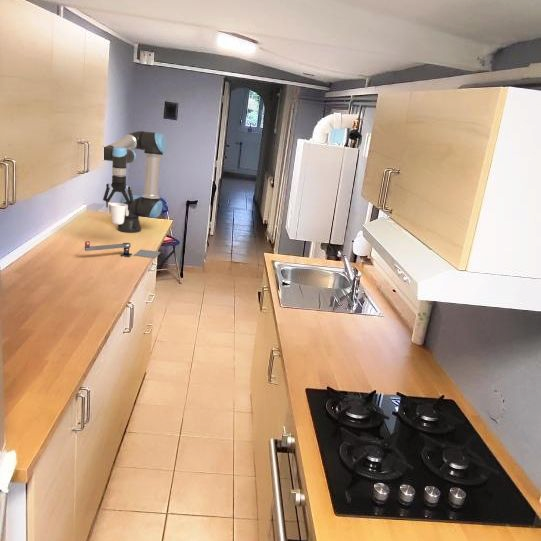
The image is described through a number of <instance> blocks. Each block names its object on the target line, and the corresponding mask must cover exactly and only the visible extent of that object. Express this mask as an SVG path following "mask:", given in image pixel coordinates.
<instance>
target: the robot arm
mask: <svg viewBox="0 0 541 541" xmlns="http://www.w3.org/2000/svg"><path fill="white" fill-rule="evenodd" d="M167 143H168V142H167V138H166V136H165V135H164V134H163V133H160V132H153V131H152V132H151V131H146V130H145V131H143V130H137V131H132V132H130V133H127V134H125V135H123V137H122V138H121V139H119V140H117V141H115V142H112V143H111V144H108V145H106V146H103V147H104V160H103V161H108V162H112V168H111V170H112V172H111V173H112V175H111V179H112V181H111V183H109V182H108V183H106V187H105V191H104V194H103V197H102V201H104V202H106V204H105V207H106V208H107V214H108V215H109V214H111V209H110V205H109V204H110V203H112V201H111V199H113V196H114V194H115V193H121V195H122V197H121V199H120V203H124V204H126V213H125V218H124V223H123V224H117V230H118V231H119V232H121V233H131V234H132V233H139V232H141V231H142V225H141V223H140V218H139V217H145V218H149V219H158V218H159V217H160V215H161V213H162V211H163V205H164V204H163V202H162V200H161V197H160V196H159V195H158V192H159V180H160V179H159V178H160V177H159V176H160V167H161V166H160V164H161V157H163V155H164V153H165V152H166V151H167V146H168V144H167ZM135 150H140V151H144V152H143V154H144V155H145V156H146V158H145V160H146V161H145V172H144V173H145V174H144V190H143V192H144V193H143V194H142V195H141V196H140V195H138V194H133V193H132V185H127V164H131V163H133V162H135V161H136V160H137V154H136V152H135ZM110 188H112V190H111V192H110ZM126 189H127V192H126ZM109 193H110V194H109ZM127 193H128V194H127Z"/></svg>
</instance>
